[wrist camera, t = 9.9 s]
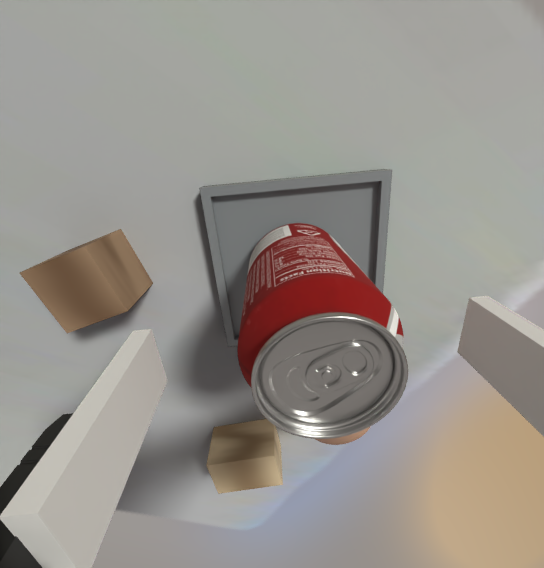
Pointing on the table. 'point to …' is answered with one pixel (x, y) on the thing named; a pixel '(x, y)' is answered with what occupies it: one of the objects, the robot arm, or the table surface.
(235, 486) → the oak block
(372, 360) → the soda can
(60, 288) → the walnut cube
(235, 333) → the tray
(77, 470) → the robot arm
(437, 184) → the table surface
